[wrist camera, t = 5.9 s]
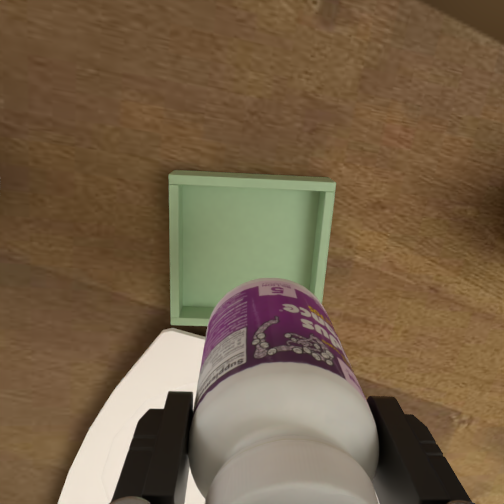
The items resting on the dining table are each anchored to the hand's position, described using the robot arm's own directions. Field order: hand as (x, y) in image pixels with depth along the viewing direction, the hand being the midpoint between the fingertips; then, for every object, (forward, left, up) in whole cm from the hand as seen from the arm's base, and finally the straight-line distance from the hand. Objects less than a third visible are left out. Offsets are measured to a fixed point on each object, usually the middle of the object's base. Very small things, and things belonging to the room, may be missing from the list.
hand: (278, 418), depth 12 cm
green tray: (0, -1, -17) cm, 17 cm away
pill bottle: (0, 0, -6) cm, 6 cm away
